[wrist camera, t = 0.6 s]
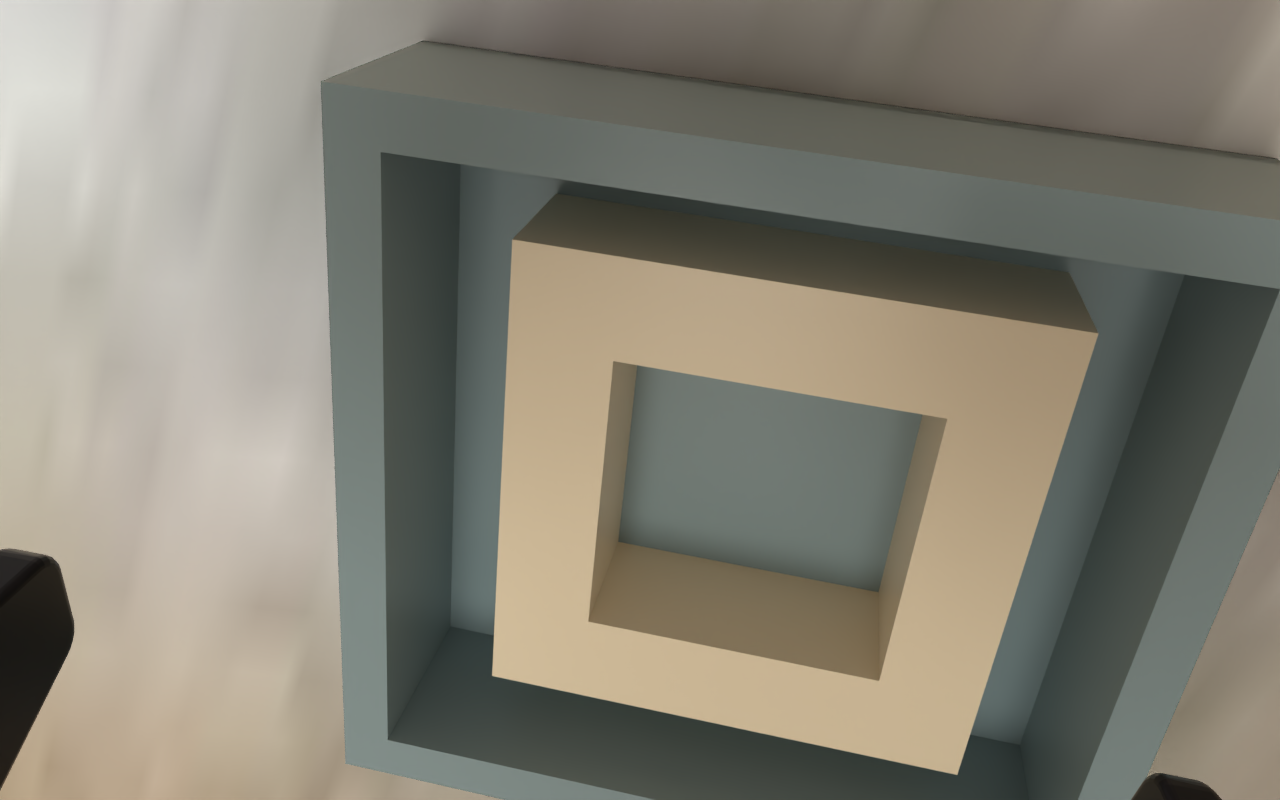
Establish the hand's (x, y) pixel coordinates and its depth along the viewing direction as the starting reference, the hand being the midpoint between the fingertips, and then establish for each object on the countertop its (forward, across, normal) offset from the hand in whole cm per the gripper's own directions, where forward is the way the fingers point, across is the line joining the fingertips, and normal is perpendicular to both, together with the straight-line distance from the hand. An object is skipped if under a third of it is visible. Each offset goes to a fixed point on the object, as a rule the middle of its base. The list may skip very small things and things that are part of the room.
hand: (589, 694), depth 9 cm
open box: (+13, -2, +7) cm, 15 cm away
